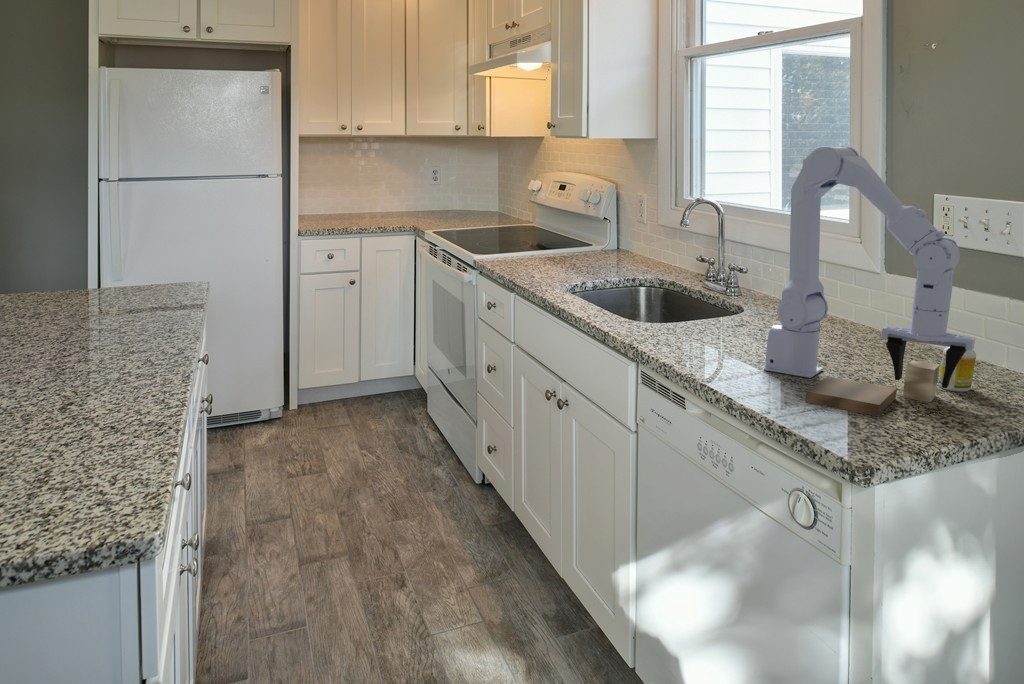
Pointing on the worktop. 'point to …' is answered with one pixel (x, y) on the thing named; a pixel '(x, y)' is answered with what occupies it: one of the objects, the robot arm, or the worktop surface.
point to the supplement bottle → (959, 372)
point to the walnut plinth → (851, 395)
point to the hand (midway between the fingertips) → (921, 382)
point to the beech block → (921, 381)
